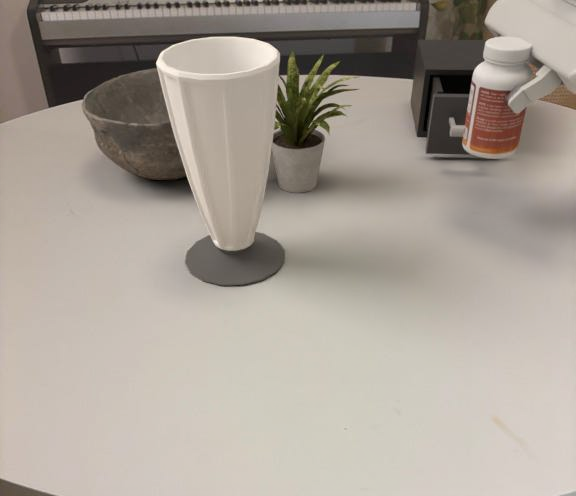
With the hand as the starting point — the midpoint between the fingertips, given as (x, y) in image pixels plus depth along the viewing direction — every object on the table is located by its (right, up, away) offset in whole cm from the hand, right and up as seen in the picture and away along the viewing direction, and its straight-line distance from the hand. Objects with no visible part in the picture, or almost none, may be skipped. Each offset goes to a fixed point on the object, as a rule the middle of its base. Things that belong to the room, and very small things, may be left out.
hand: (493, 94), depth 69 cm
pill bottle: (+1, -4, +4) cm, 6 cm away
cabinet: (+4, +11, +32) cm, 34 cm away
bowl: (-38, 0, +22) cm, 44 cm away
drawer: (+3, +4, +24) cm, 25 cm away
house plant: (-21, -5, +17) cm, 27 cm away
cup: (-28, -17, +5) cm, 33 cm away
